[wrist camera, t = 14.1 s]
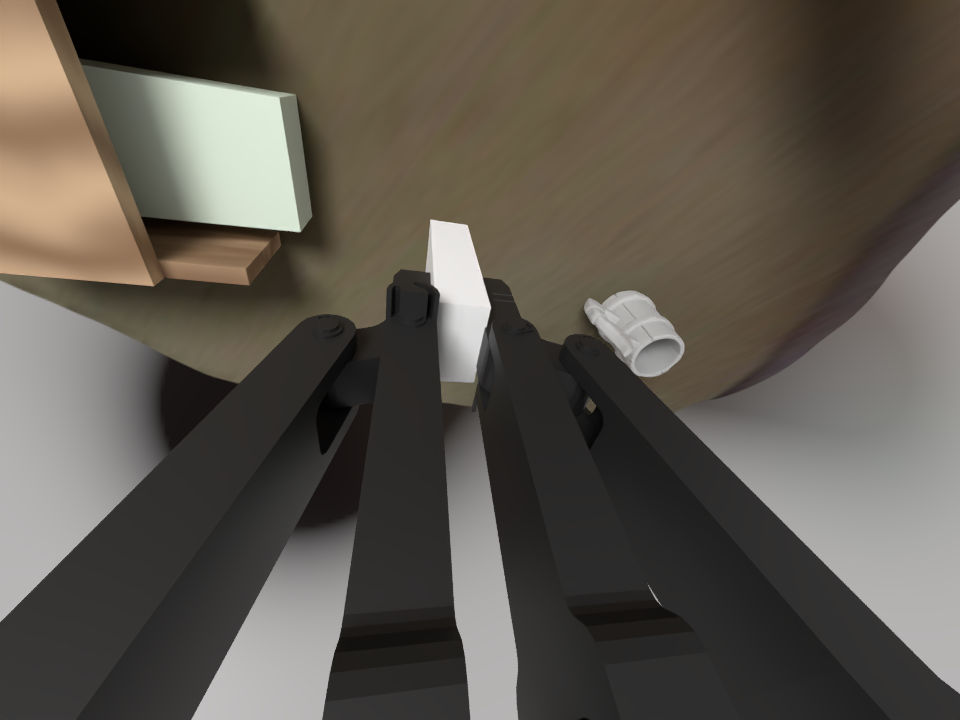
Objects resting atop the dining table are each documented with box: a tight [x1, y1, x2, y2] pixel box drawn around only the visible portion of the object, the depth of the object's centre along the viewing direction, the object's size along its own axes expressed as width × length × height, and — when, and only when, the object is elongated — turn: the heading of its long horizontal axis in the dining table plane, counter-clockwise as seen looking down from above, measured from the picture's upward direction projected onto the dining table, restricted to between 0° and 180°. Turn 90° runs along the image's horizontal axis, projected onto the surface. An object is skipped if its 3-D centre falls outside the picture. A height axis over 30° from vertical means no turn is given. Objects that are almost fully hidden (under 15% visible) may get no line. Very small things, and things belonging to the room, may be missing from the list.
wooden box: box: [0, 0, 281, 286], centre depth 24 cm, size 21×24×10 cm
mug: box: [584, 290, 684, 377], centre depth 43 cm, size 8×12×12 cm, turn 63°
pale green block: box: [79, 58, 312, 232], centre depth 29 cm, size 10×20×6 cm, turn 81°
